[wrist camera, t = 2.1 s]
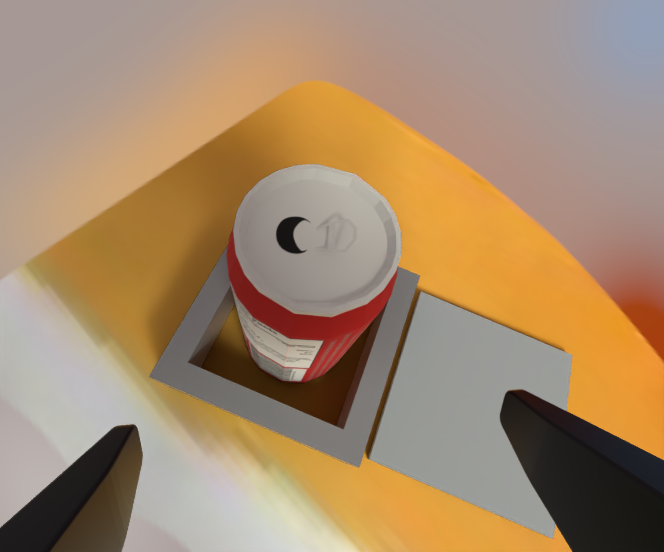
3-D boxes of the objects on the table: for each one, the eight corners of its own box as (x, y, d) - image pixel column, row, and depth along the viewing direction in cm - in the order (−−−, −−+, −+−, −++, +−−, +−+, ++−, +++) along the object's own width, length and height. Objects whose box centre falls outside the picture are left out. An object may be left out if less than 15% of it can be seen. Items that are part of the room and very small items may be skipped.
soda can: (345, 295, 23) (414, 164, 12) (340, 388, 21) (418, 332, 10) (253, 284, 22) (238, 137, 11) (238, 379, 20) (200, 308, 9)
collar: (347, 463, 19) (359, 467, 17) (164, 384, 19) (149, 376, 17) (403, 293, 24) (420, 275, 21) (253, 230, 24) (251, 204, 21)
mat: (548, 536, 19) (553, 538, 19) (367, 459, 20) (369, 459, 19) (567, 356, 24) (572, 355, 23) (418, 293, 24) (421, 291, 23)
